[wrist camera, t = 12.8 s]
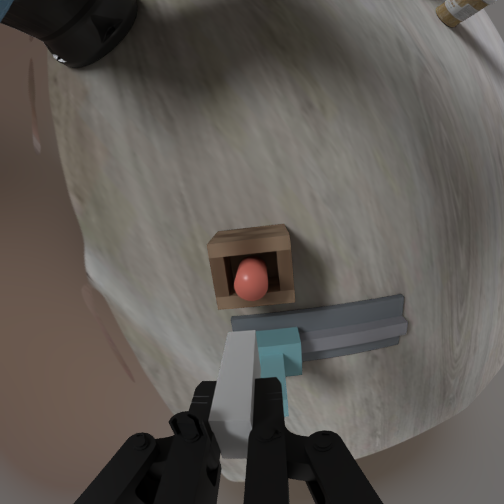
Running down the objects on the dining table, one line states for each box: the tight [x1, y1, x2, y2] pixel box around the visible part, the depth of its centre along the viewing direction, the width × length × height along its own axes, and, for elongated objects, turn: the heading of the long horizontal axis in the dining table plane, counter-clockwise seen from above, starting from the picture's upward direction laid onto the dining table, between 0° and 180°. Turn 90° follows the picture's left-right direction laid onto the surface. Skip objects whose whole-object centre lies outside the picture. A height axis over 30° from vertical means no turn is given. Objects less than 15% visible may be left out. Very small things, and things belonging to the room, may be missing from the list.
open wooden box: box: [207, 224, 295, 310], centre depth 31 cm, size 8×7×7 cm
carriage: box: [256, 327, 302, 417], centre depth 29 cm, size 7×5×12 cm
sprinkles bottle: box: [436, 0, 497, 27], centre depth 16 cm, size 5×5×14 cm
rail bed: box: [231, 294, 408, 362], centre depth 35 cm, size 24×8×3 cm, turn 97°
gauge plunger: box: [234, 256, 268, 301], centre depth 27 cm, size 3×3×4 cm
